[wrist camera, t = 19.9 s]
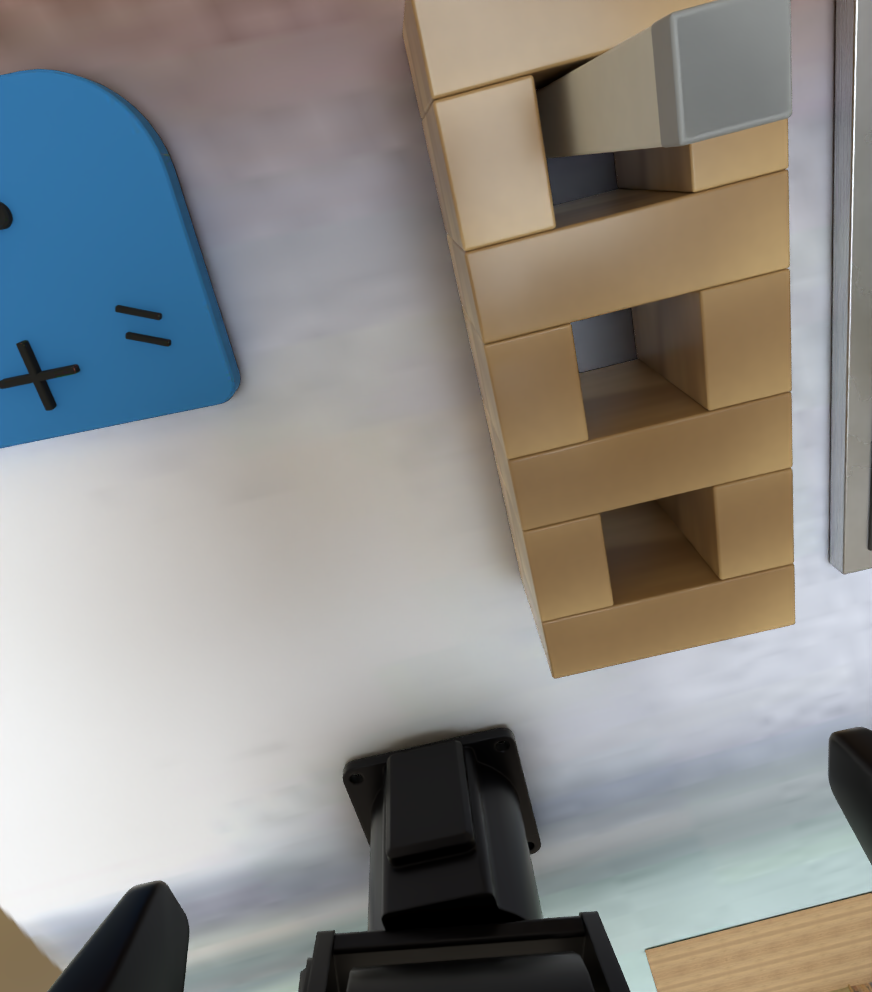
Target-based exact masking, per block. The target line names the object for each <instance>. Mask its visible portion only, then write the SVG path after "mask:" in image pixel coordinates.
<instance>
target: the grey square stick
mask: <svg viewBox="0 0 872 992" xmlns="http://www.w3.org/2000/svg"><path fill="white" fill-rule="evenodd" d="M536 95H537V102H538V108H539V115H540V121H541V128H542V134H543V141H544V148H545V154H546V158H556V157H566V156H576V155H586V154H596V153H606V152H616V151H626V150H636V149H646V148H656V147H665V148H667V147H677V146H684V145H688V144H692V143H696V142H700V141H703V140H707V139H711V138H715V137H719V136H722V135H726V134H730V133H734V132H738V131H741V130H745V129H749V128H753V127H757V126H760V125H764V124H768V123H772V122H776V121H779V120H783V119H787V118H789V117H790V116H791V114H792V76H791V0H716V1H712V2H709V3H705V4H701V5H697V6H694V7H690V8H686V9H683V10H679V11H675V12H672V13H671V14H669V15H667V16H665V17H664V18H662V19H660V20H658V21H657V22H655V23H654V24H652V26H651V27H649V28H647V29H645V30H643V31H642V32H640V33H638V34H636V35H635V36H633V37H631V38H629V39H628V40H626V41H624V42H622V43H621V44H619V45H617V46H615V47H614V48H612V49H610V50H608V51H607V52H605V53H603V54H601V55H600V56H598V57H596V58H594V59H593V60H591V61H589V62H587V63H586V64H584V65H582V66H580V67H579V68H577V69H575V70H573V71H572V72H570V73H568V74H566V75H565V76H563V77H561V78H559V79H557V80H556V81H554V82H552V83H550V84H549V85H547V86H545V87H543V88H542V89H540V90H538V91H536Z"/></svg>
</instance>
